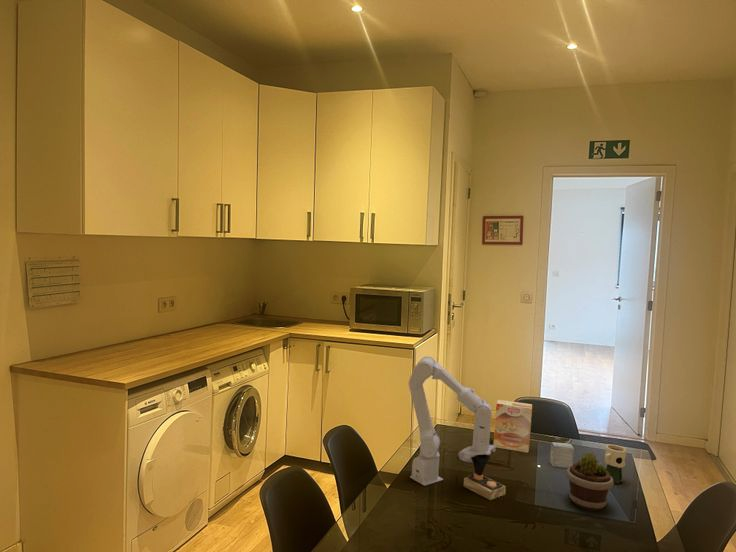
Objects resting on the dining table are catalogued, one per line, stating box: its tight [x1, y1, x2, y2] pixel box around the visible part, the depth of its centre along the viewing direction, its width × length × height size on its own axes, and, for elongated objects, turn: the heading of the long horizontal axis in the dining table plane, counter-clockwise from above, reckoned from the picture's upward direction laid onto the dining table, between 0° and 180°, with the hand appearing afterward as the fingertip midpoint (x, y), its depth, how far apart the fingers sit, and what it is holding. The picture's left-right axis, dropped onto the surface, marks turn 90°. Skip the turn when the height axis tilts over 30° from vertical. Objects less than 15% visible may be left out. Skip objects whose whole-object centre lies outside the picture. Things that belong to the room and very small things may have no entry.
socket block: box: [463, 473, 507, 501], centre depth 185 cm, size 8×12×4 cm, turn 37°
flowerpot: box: [565, 450, 615, 512], centre depth 179 cm, size 14×15×20 cm
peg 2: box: [487, 481, 496, 488], centre depth 183 cm, size 3×3×3 cm
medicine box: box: [549, 441, 575, 469], centre depth 212 cm, size 8×4×9 cm, turn 84°
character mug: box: [604, 444, 627, 484], centre depth 200 cm, size 11×7×13 cm, turn 120°
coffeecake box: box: [492, 399, 533, 453], centre depth 229 cm, size 15×7×20 cm, turn 73°
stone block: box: [457, 445, 473, 464], centre depth 215 cm, size 12×5×10 cm
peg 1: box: [473, 472, 484, 481], centre depth 187 cm, size 3×3×3 cm
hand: (478, 474), depth 187 cm, fingers closed, pressing on peg 1
